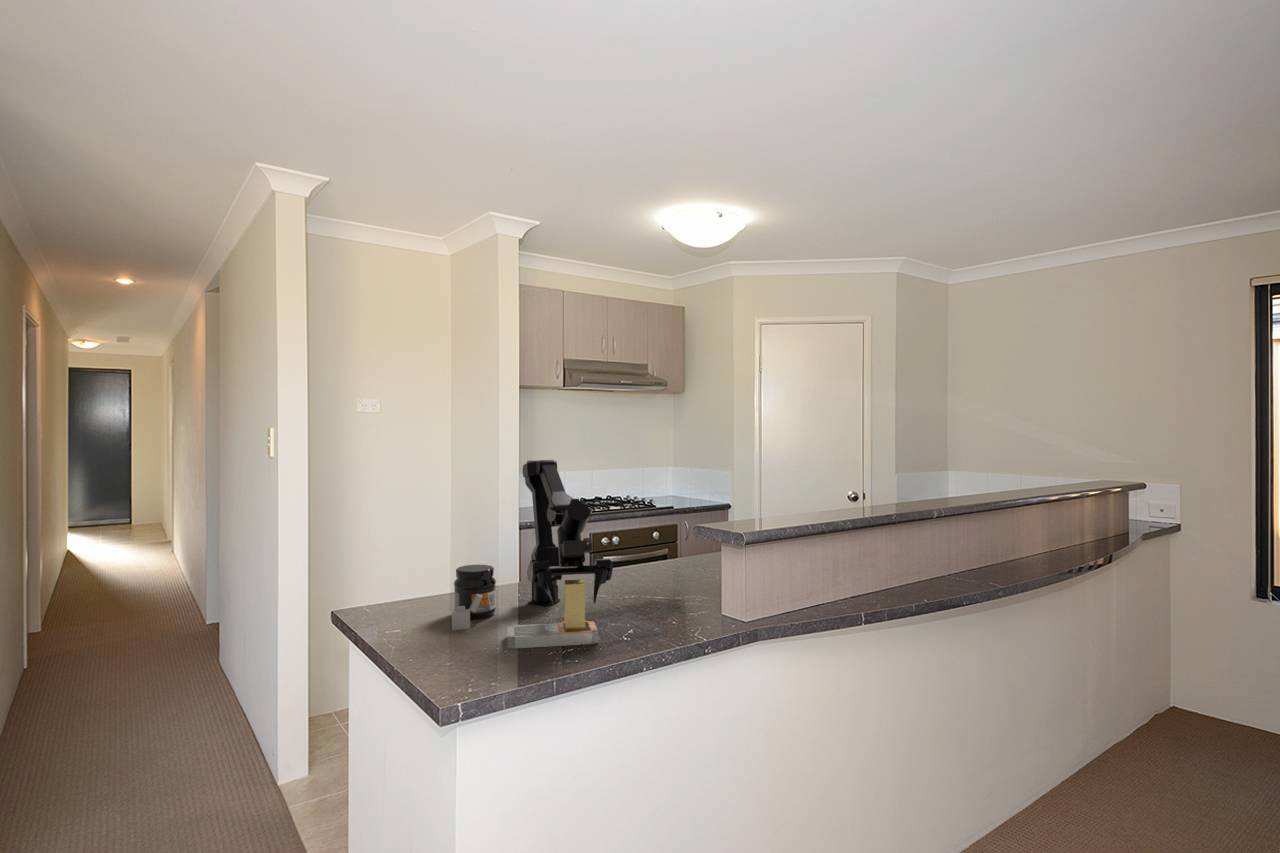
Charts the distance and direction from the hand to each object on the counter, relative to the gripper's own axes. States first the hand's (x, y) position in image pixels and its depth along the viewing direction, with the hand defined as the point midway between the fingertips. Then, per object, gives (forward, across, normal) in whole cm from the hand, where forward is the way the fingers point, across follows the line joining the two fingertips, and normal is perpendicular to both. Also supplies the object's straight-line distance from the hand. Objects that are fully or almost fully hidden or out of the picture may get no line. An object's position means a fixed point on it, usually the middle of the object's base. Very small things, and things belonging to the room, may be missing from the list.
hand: (574, 602), depth 162 cm
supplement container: (-12, -23, +25) cm, 36 cm away
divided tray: (+5, -5, +7) cm, 10 cm away
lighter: (-4, -24, +17) cm, 30 cm away
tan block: (+5, 0, +7) cm, 9 cm away
